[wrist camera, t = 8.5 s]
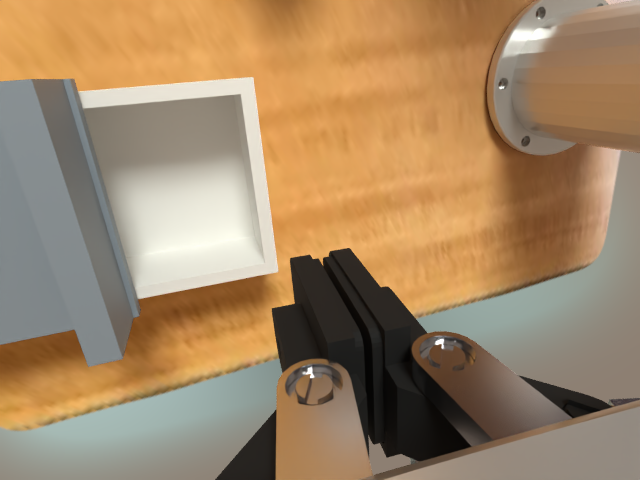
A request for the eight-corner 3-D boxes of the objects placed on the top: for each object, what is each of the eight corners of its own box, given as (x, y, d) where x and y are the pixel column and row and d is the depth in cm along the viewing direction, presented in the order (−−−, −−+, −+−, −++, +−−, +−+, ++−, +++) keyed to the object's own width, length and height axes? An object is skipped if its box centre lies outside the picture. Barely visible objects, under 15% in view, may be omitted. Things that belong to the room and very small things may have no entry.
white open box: (242, 77, 28) (253, 77, 22) (264, 240, 32) (278, 271, 27) (9, 97, 25) (-43, 101, 19) (71, 273, 29) (43, 317, 24)
